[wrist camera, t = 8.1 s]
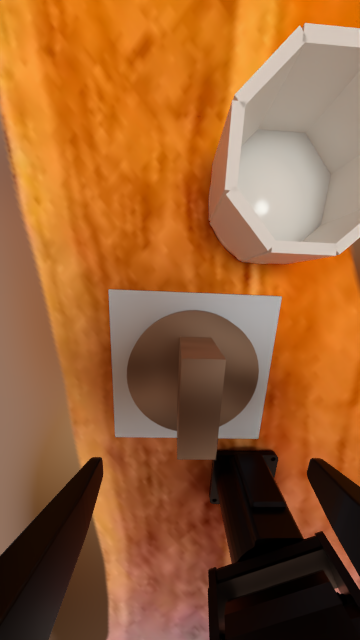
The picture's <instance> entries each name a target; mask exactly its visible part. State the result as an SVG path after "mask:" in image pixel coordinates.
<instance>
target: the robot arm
mask: <svg viewBox="0 0 360 640" xmlns="http://www.w3.org/2000/svg"><path fill="white" fill-rule="evenodd" d="M277 462H278V457H277V455H276V454H275V452H272V451H217V452H216V460H213V463H212V473H211V483H210V493H209V498H210V502H211V503H212V504H220V507H221V512H222V517H223V522H224V527H225V532H226V537H227V542H228V547H229V552H230V557H231V562H232V564H230V565H227V566H224V567H221V568H218V569H216V567H214V568H211V569H209V571H208V573H209V588H208V606H209V637H210V640H360V590H359V588H358V587H357V585H356V583H355V582H354V580H353V579H352V577H351V576H350V574H349V572H348V571H347V569H346V568H345V566H344V565H343V563H342V561H341V560H340V558H339V557H338V555H337V554H336V552H335V550H334V549H333V547H332V546H331V544H330V543H329V541H328V539H327V538H326V536H325V535H324V533H323V532H322V531H320V532H317V533H315V535H316V536H313V537H310V538H307V539H304V538H303V536H302V534H301V532H300V530H299V528H298V526H297V524H296V522H295V520H294V518H293V516H292V514H291V512H290V510H289V508H288V506H287V504H286V501H285V499H284V497H283V495H282V493H281V491H280V489H279V487H278V485H277V483H276V481H275V479H274V477H275V472H276V467H277ZM307 476H308V479H309V482H310V484H311V486H312V488H313V490H314V492H315V494H316V496H317V498H318V500H319V502H320V504H321V506H322V508H323V510H324V512H325V514H326V516H327V518H328V520H329V522H330V524H331V526H332V528H333V530H334V532H335V534H336V536H337V537H338V539H339V541H340V543H341V545H342V546H343V548H344V550H345V552H346V553H347V555H348V557H349V559H350V560H351V562H352V564H353V566H354V567H355V569H356V571H357V573H358V574H359V576H360V487H359V486H358V485H357V484H355V483H354V482H353V481H351V480H350V479H349V478H347V477H346V476H344V475H343V474H342V473H340V472H339V471H338V470H336V469H335V468H334V467H332V466H331V465H330V464H328V463H327V462H326V461H324V460H323V459H320V458H312V459H310V462H309V466H308V470H307ZM102 478H103V462H102V458H101V457H93V458H91V459H90V460H89V461H88V462H87V463H86V464H85V465H84V466H83V467H82V468H81V469H80V470H79V472H78V473H77V474H76V475H75V476H74V477H73V478H72V479H71V480H70V481H69V482H68V483H67V484H66V486H65V487H64V488H63V489H62V490H61V491H60V492H59V493H58V494H57V496H55V497H54V498H53V500H52V501H51V502H50V503H49V504H48V505H47V506H46V507H45V508H44V509H43V510H42V511H41V512H40V514H39V515H38V516H37V517H36V518H35V519H34V520H33V521H32V522H31V523H30V524H29V525H28V526H27V528H26V529H25V530H24V531H23V532H22V533H21V534H20V535H19V536H18V537H17V538H16V539H15V540H14V541H13V543H12V544H11V545H10V546H9V547H8V548H7V549H6V550H5V551H4V552H3V554H1V556H0V640H48V639H49V637H50V634H51V631H52V628H53V626H54V623H55V620H56V617H57V615H58V612H59V609H60V606H61V603H62V601H63V598H64V595H65V593H66V590H67V587H68V584H69V581H70V579H71V576H72V573H73V571H74V568H75V565H76V562H77V560H78V557H79V554H80V551H81V549H82V546H83V543H84V540H85V537H86V534H87V531H88V528H89V524H90V521H91V517H92V514H93V510H94V507H95V503H96V500H97V496H98V493H99V489H100V485H101V482H102ZM335 588H338V589H339V591H340V593H341V594H339V593H338V592H337V593H336V591H335Z"/></svg>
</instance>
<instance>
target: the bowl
mask: <svg viewBox="0 0 360 640" xmlns="http://www.w3.org/2000/svg"><path fill="white" fill-rule="evenodd" d="M208 208H209V220H208V221H211V222H210V223H209V224H210V225H211V226H212V228H213V230H214V232H215V234H216V236H217V238H218V240H219V241H220V242H221V244H222V245H223V246H224V247H225V248H226V250H228V251H229V252H230V253H231V254H232V255H234V256H235V257H236V258H237V259H238V260H239V261H240V260H241V262H250V263H255V264H269V263H272V264H290V263H296V262H302V261H308V260H314V259H319V258H325V257H331V256H336V255H339V254H341V253H342V252H343V251H344V250H345V249H347V248H348V247H349V246H350V245H351V244H353V243H354V242H355V241H356V240H357V239H358V238H360V28H350V27H340V26H330V25H320V24H310V23H305V24H304V26H303V28H301V26H299V27H298V28H297V29H296V30H295V31H294V32H293V33H292V34H291V35H290V36H289V37H288V38H287V40H286V41H285V42H284V43H283V44H282V45H281V46H280V47H279V48H278V49H277V50H276V51H275V52H274V53H273V54H272V56H271V57H270V58H269V59H268V60H267V61H266V62H265V63H264V64H263V65H262V66H261V67H260V68H259V69H258V71H257V72H256V73H255V74H254V75H253V76H252V77H251V78H250V79H249V80H248V81H247V82H246V83H245V84H244V85H243V87H242V88H241V89H240V90H239V91H238V92H237V93H236V94H235V96H234V99H233V100H232V103H231V106H230V110H229V113H228V116H227V119H226V122H225V126H224V129H223V132H222V135H221V138H220V142H219V145H218V148H217V151H216V154H215V158H214V161H213V164H212V177H211V186H210V190H209V199H208Z"/></svg>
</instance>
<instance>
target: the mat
mask: <svg viewBox="0 0 360 640" xmlns="http://www.w3.org/2000/svg"><path fill="white" fill-rule="evenodd" d="M108 290H109V312H110V334H111V356H112V378H113V400H114V422H115V437H148V438H177V431H174V430H170V429H167V428H164V427H162V426H160V425H158V424H156V423H155V422H153V421H151V420H150V419H149V418H148V417H146V416H145V415H144V414H143V413H142V412H141V411H140V409H139V408H138V407H137V406H136V404H135V402H134V401H133V399H132V397H131V394H130V392H129V388H128V384H127V365H128V360H129V357H130V354H131V351H132V349H133V347H134V346H135V344H136V342H137V341H138V339H139V338H140V336H141V335H142V334H143V333H144V331H145V330H146V329H147V328H148V327H149V326H151V325H152V324H153V323H154V322H156V321H158V320H159V319H161V318H163V317H165V316H167V315H169V314H172V313H176V312H180V311H186V310H200V311H207V312H211V313H214V314H217V315H220V316H222V317H224V318H225V319H227V320H229V321H230V322H232V323H233V324H234V325H236V326H237V327H238V328H240V329H241V330H242V331H243V332H244V333H245V335H246V336H247V337H248V339H249V340H250V341H251V343H252V345H253V347H254V349H255V352H256V355H257V359H258V365H259V375H258V382H257V386H256V389H255V392H254V394H253V396H252V398H251V400H250V401H249V403H248V404H247V406H246V407H245V408H244V409H243V410H242V412H241V413H240V414H238V415H237V416H236V417H235V418H234V419H232V420H231V421H229V422H228V423H226V424H224V425H222V426H220V427H219V433H218V438H235V439H258V437H259V431H260V425H261V419H262V413H263V407H264V401H265V395H266V389H267V383H268V377H269V371H270V365H271V359H272V353H273V347H274V341H275V335H276V329H277V323H278V317H279V311H280V305H281V299H282V297H281V296H262V295H238V294H213V293H189V292H165V291H140V290H116V289H108Z"/></svg>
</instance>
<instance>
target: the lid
mask: <svg viewBox="0 0 360 640" xmlns="http://www.w3.org/2000/svg"><path fill="white" fill-rule="evenodd" d="M258 375H259V365H258V359H257V355H256V352H255V349H254V347H253V345H252V343H251V341H250V340H249V339H248V337H247V336H246V335H245V333H244V332H243V331H242V330H241V329H240V328H238V327H237V326H236V325H234V324H233V323H232V322H230V321H229V320H227V319H225V318H224V317H222V316H220V315H217V314H214V313H211V312H207V311H200V310H186V311H180V312H176V313H172V314H169V315H167V316H165V317H163V318H161V319H159V320H158V321H156V322H154V323H153V324H152V325H151V326H149V327H148V328H147V329H146V330H145V331H144V333H143V334H142V335H141V336H140V338H139V339H138V341H137V342H136V344H135V346H134V347H133V349H132V351H131V354H130V357H129V360H128V365H127V384H128V388H129V392H130V394H131V397H132V399H133V401H134V402H135V404H136V406H137V407H138V408H139V409H140V411H141V412H142V413H143V414H144V415H145V416H146V417H148V418H149V419H150V420H151V421H153V422H155V423H156V424H158V425H160V426H162V427H164V428H167V429H170V430H174V431H177V459H194V460H216V452H217V443H218V433H219V427H220V426H222V425H224V424H226V423H228V422H229V421H231V420H232V419H234V418H235V417H236V416H237V415H238V414H240V413H241V412H242V410H243V409H244V408H245V407H246V406H247V404H248V403H249V401H250V400H251V398H252V396H253V394H254V392H255V389H256V386H257V382H258Z"/></svg>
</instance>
